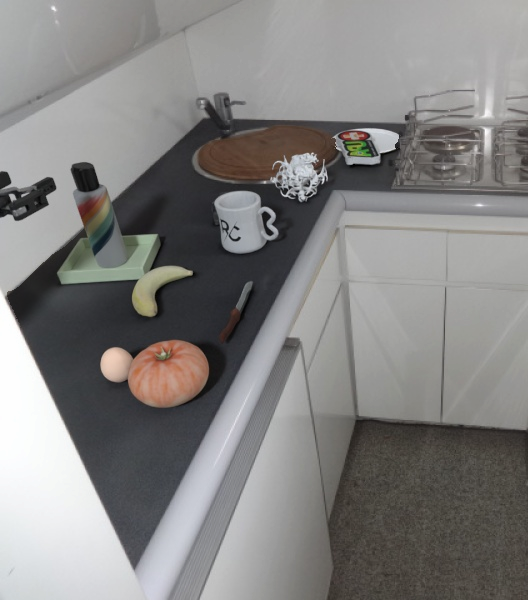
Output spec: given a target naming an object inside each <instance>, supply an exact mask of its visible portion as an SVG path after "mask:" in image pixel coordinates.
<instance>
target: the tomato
mask: <svg viewBox="0 0 528 600" xmlns="http://www.w3.org/2000/svg"><path fill="white" fill-rule="evenodd" d="M209 366H210V365H209V362H208V359H207V357H206V354H204V352H203V350H202V349H201V348H199V347H198V346H197V345H195V344H193V343H191V342H188V341H186V340H182V339H181V340H180V339H170V340H163V341H158V342H156V343H153V344H150V345H148V347H146V348H144V349H142V350H141V351H140V352H139V353H138V354H137V355H136V356H135V357H134V358H133V362H132V363H131V365H130V368H129V372H128V379H127V382H128V387H129V389H130V392H131V394H132V395H133V396H134V397H135V398H136V399H137V400H138V401H140V402H141V403H143V404H145V405H147V406H149V407H154V408H160V409H167V408H174V407H178V406H181V405H183V404H186V403H187V402H190V401H191V400H193V399H194V398H195V397H196V396H198V395H199V394H200V393H201V392H202V390H203V389H204V387H205V386H206V384H207V381H208V379H209V374H210V367H209Z"/></svg>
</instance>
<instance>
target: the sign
mask: <svg viewBox="0 0 528 600" xmlns="http://www.w3.org/2000/svg"><path fill="white" fill-rule="evenodd" d="M335 135H336V143H337V145H339V146H341V150H342V152H341V153H342V156H343V157H344V160H345V163H346V165H348V166H351V165H353V164H355V165H371V166H373V165H377V164H380V163H381V154H380V153H379V151H378V149H377V147H376V145H375V143H374V141H373V140H372V135H371V134H370V133H368V132H366V131H361V130H353V129H348V130H343V131H341V132H338V133H336V134H335Z"/></svg>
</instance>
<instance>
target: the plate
mask: <svg viewBox="0 0 528 600" xmlns="http://www.w3.org/2000/svg"><path fill="white" fill-rule="evenodd" d="M352 130H361V131H366V132H368V133H370V134H371V135H372V140H373V141H374V143H375V145H376V147H377V149H378V151H379V153H380V155H382V154H388V153H390V152H393V151H396V150H397V149H396V148H395V144H396V143H397V142H398V139H399V135H400V134H398V133H397V132H394V131H392V130H387V129H383V128H375V127H374V128H371V127H369V128H368V127H367V128H366V127H364V128H355V129H352ZM336 135H337V134H335V135H333V137H332V138H335V139H336ZM335 144H336V146H337V147H336V146H335V147H336V149H337V150H336V149H335V150H336V151H338V152H341V153H342V150H341V146H339V145H337V143H336V142H335Z"/></svg>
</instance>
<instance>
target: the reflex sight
mask: <svg viewBox="0 0 528 600" xmlns="http://www.w3.org/2000/svg"><path fill="white" fill-rule="evenodd" d="M229 192H230V191H223V192H219V193H218V195H217V197H216V199H217V198H218V197H220V196H221V195H223V194H226V193H229ZM214 203H215V200H213V201H212V202H211V205H210V207H211V209H210V210H211V213H212V218H213V220H214V225H220V222H219V217H218V213H217V210H216V207H215V206H214ZM213 206H214V208H213Z"/></svg>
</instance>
